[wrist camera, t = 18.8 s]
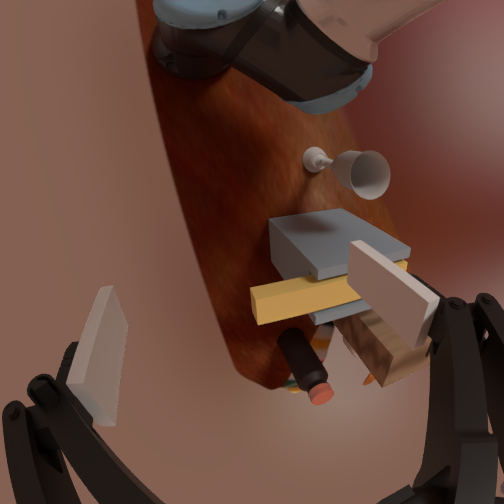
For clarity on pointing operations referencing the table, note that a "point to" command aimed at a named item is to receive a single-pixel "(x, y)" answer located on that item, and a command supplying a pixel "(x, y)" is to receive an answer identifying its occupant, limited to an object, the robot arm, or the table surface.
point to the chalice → (353, 170)
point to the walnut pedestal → (381, 347)
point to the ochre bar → (301, 296)
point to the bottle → (305, 366)
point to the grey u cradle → (326, 250)
